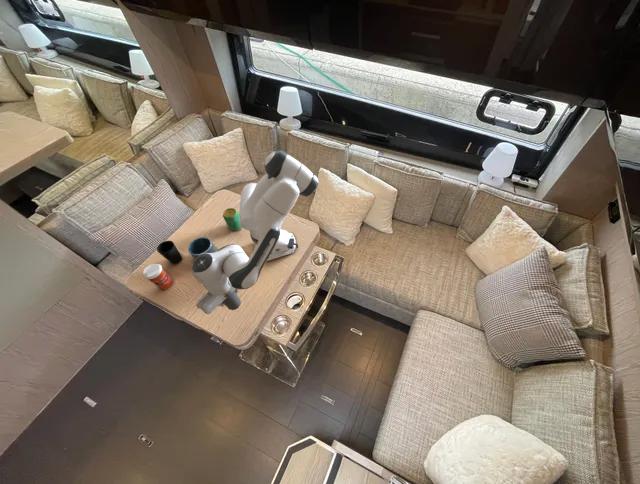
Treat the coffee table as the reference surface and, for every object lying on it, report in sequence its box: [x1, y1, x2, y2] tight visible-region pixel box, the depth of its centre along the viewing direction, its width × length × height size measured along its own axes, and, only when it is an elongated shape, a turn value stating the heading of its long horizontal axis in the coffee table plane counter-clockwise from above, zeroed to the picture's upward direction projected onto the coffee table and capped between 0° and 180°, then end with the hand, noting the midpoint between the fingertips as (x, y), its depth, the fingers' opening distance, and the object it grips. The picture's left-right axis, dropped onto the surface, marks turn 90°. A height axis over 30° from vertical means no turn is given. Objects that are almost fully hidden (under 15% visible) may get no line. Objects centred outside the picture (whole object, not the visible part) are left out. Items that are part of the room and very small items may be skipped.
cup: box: [156, 240, 183, 265], centre depth 141 cm, size 8×8×12 cm
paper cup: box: [142, 263, 173, 290], centre depth 131 cm, size 8×8×14 cm
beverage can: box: [222, 207, 243, 232], centre depth 157 cm, size 8×8×12 cm
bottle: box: [222, 290, 242, 311], centre depth 115 cm, size 6×6×15 cm
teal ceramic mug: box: [187, 236, 218, 260], centre depth 144 cm, size 15×11×9 cm
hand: (229, 298), depth 116 cm, fingers closed on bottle, 6 cm apart
